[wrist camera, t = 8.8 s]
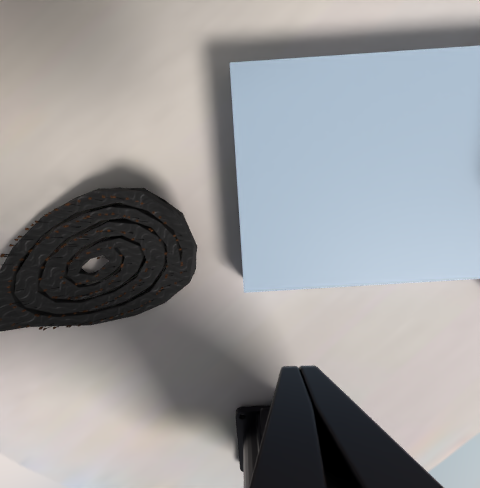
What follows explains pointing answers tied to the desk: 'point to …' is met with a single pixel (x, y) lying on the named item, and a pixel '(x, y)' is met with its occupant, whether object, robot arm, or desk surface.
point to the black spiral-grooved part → (115, 250)
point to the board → (358, 168)
